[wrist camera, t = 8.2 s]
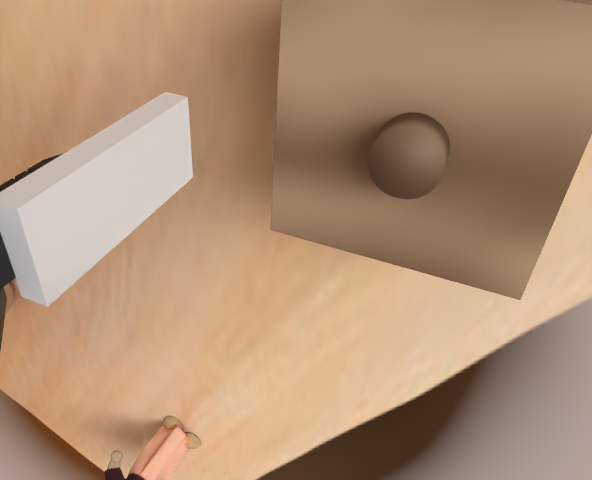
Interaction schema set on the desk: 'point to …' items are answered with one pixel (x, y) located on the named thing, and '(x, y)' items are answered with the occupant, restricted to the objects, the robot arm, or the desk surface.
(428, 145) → the lid
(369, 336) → the desk surface
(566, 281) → the desk surface
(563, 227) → the desk surface
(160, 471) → the grandmother figurine
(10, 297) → the plastic bottle
